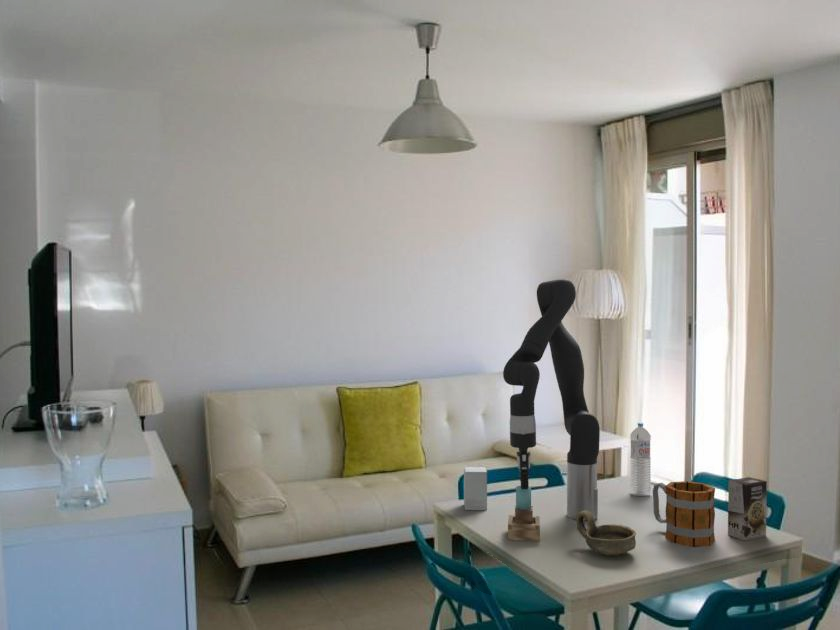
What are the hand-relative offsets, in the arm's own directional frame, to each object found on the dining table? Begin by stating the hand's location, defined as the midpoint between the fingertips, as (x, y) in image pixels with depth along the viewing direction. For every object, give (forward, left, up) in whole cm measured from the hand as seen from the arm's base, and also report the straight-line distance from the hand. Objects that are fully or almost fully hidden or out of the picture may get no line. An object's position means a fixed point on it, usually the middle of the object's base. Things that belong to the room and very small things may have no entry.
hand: (524, 485), depth 220 cm
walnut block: (0, +1, -11) cm, 11 cm away
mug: (-45, -4, -15) cm, 47 cm away
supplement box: (+16, -26, -15) cm, 34 cm away
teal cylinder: (0, +1, -6) cm, 7 cm away
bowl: (-22, +12, -15) cm, 29 cm away
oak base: (0, +1, -14) cm, 14 cm away
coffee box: (-64, -7, -15) cm, 66 cm away
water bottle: (-40, -49, -15) cm, 65 cm away
